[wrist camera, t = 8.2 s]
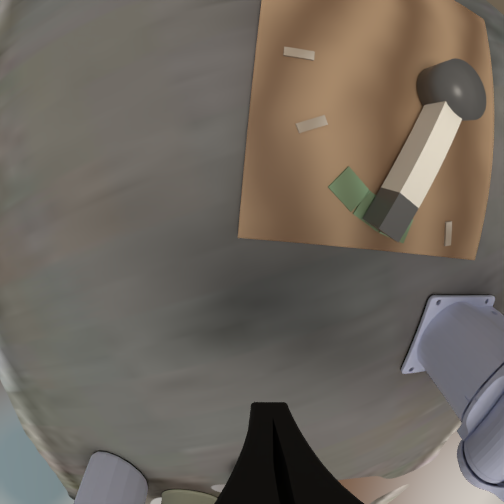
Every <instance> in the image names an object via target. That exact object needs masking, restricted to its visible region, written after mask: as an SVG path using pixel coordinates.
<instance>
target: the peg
mask: <svg viewBox="0 0 504 504" xmlns="http://www.w3.org/2000/svg"><path fill="white" fill-rule="evenodd" d="M417 91H418V95H419V98H420V101H421V103H422V105H423V109H422V111H421V113H420V115H419V117H418V119H417V121H416V123H415V125H414V127H413V129H412V131H411V133H410V135H409V137H408V139H407V141H406V143H405V145H404V146H403V148H402V150H401V152H400V154H399V156H398V158H397V159H396V161H395V163H394V165H393V167H392V169H391V170H390V172H389V174H388V176H387V178H386V179H385V181H384V183H383V185H382V186H381V188H380V190H379V192H378V193H377V195H376V197H375V198H374V200H373V202H372V203H371V205H370V207H369V208H368V210H367V212H366V213H365V215H364V217H363V218H362V219H363V220H365V221H366V222H368V223H369V224H370V225H372V226H373V227H375V228H376V229H378V230H379V231H380V232H382V233H384V234H385V235H387V236H388V237H390V238H392V239H393V240H395V241H397V242H398V243H399V241H400V239H401V238H402V236H403V235H404V233H405V231H406V230H407V228H408V226H409V224H410V223H411V221H412V219H413V218H414V216H415V214H416V212H417V211H418V209H419V207H420V205H421V203H422V202H423V200H424V198H425V196H426V194H427V192H428V190H429V189H430V187H431V185H432V183H433V181H434V179H435V177H436V175H437V173H438V171H439V169H440V167H441V165H442V163H443V161H444V159H445V157H446V154H447V152H448V150H449V148H450V146H451V144H452V141H453V139H454V137H455V135H456V132H457V130H458V128H459V125H460V123H461V121H467V120H477V119H479V118H481V117H482V115H483V114H484V112H485V109H486V92H485V88H484V85H483V83H482V81H481V79H480V77H479V75H478V74H477V72H476V71H475V70H474V68H473V67H472V66H471V65H469V64H468V63H467V62H465V61H463V60H461V59H457V58H454V59H450V60H448V61H445V62H442V63H439V64H436V65H434V66H431V67H428V68H426V69H424V70H423V71H422V72H421V73H420V74H419V77H418V80H417Z"/></svg>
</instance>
